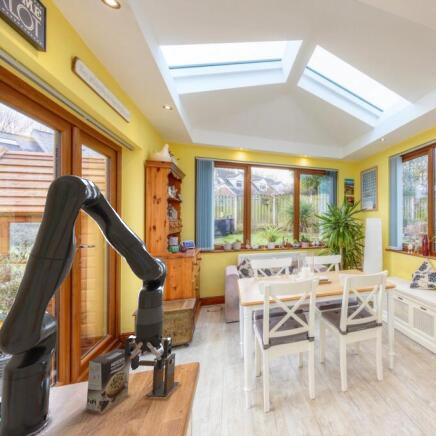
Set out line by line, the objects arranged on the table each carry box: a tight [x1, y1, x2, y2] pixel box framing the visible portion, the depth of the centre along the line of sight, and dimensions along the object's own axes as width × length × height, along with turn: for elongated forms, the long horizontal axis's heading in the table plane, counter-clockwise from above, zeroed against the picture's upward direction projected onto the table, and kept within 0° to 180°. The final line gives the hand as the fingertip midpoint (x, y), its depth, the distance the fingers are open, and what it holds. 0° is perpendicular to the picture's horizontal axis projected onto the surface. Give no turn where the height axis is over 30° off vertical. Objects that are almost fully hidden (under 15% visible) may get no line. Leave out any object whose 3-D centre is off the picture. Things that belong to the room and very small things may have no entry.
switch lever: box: [139, 356, 169, 367], centre depth 89 cm, size 12×5×2 cm, turn 1°
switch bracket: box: [145, 353, 180, 398], centre depth 94 cm, size 8×7×13 cm
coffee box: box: [86, 348, 131, 413], centre depth 87 cm, size 9×6×16 cm
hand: (147, 369), depth 85 cm, fingers open, 7 cm apart
